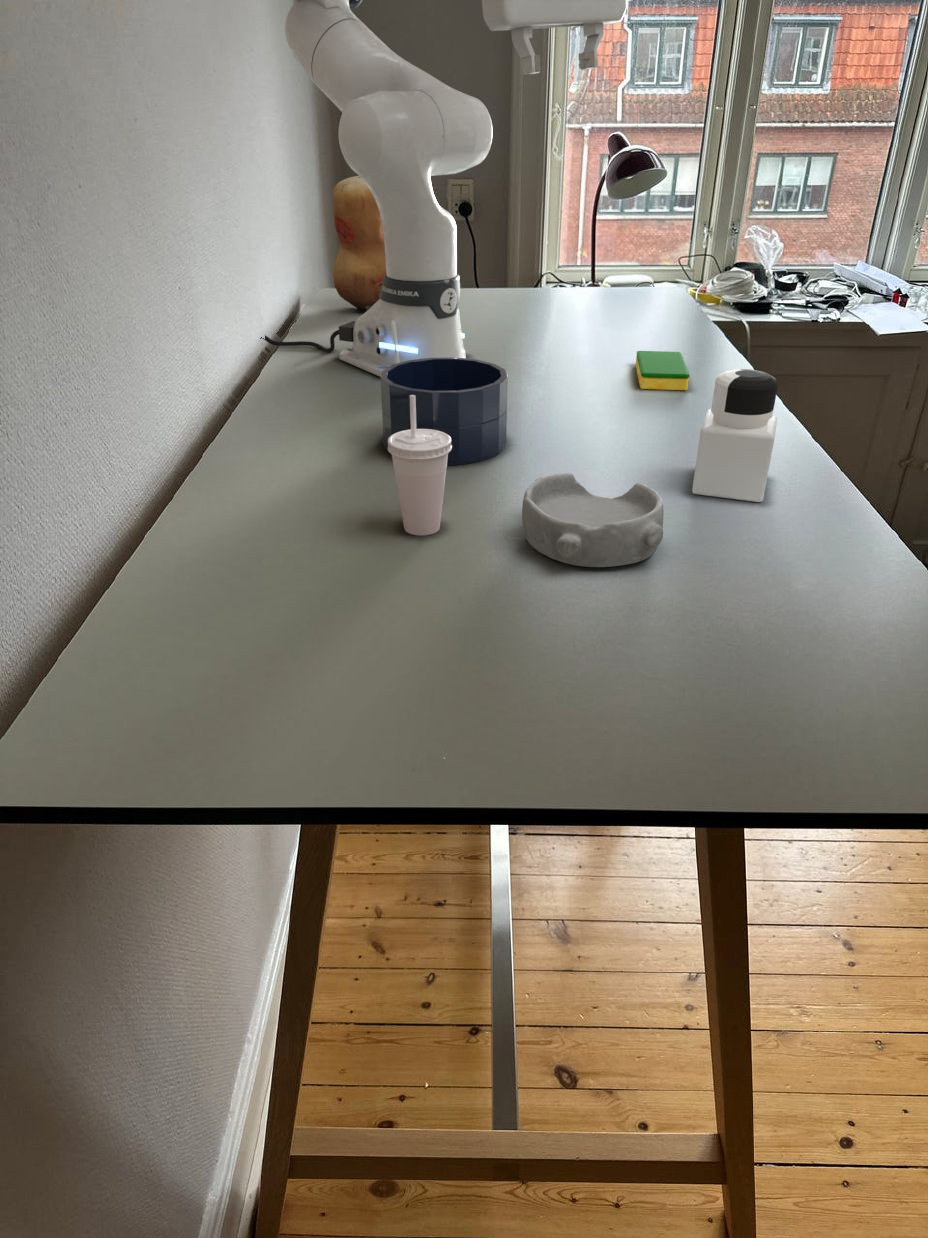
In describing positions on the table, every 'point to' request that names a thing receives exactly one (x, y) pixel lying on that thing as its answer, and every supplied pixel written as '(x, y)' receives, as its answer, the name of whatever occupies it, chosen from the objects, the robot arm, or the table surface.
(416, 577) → the table surface
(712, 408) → the container
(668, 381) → the dish sponge
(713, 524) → the table surface
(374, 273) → the butternut squash
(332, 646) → the table surface
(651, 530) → the dish
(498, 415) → the pot
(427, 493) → the smoothie
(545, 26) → the robot arm
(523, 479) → the table surface
